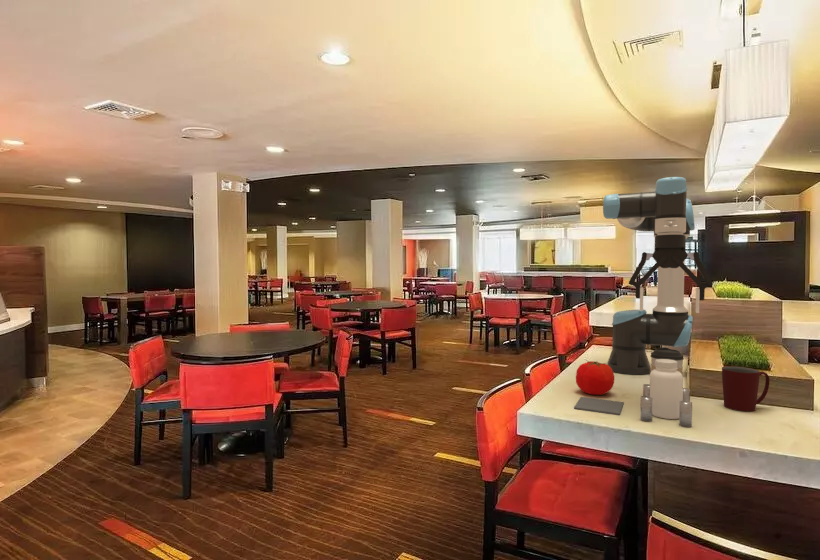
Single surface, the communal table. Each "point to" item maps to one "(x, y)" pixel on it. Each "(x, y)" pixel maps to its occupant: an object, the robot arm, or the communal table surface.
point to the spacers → (684, 409)
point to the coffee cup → (667, 357)
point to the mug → (742, 387)
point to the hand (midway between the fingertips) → (668, 311)
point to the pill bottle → (666, 389)
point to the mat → (599, 405)
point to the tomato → (595, 378)
